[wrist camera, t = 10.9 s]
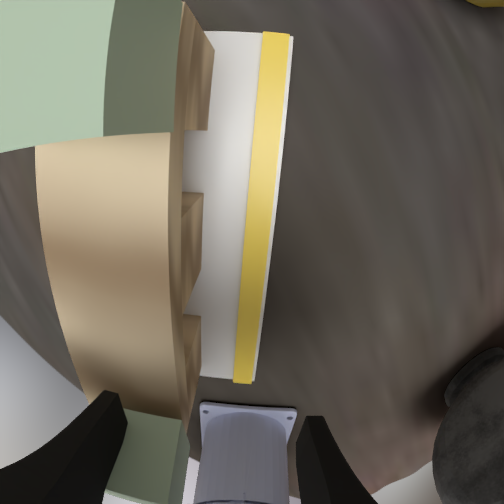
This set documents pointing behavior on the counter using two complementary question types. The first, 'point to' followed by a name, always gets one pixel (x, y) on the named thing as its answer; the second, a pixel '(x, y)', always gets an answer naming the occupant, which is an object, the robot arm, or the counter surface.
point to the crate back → (151, 460)
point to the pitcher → (473, 434)
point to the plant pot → (487, 3)
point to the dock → (237, 195)
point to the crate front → (86, 69)
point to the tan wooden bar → (131, 249)
